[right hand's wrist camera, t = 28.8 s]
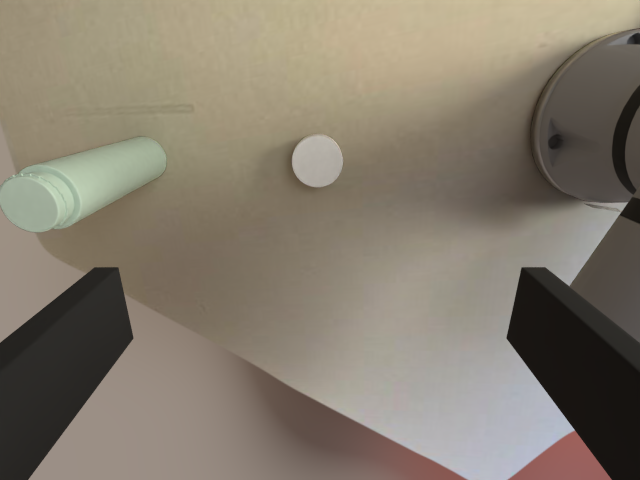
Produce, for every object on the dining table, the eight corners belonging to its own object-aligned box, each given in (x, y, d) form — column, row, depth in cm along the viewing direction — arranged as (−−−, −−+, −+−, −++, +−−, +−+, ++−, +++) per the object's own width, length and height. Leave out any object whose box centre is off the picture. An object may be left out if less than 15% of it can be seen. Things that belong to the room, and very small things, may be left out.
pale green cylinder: (170, 144, 38) (68, 183, 22) (162, 184, 39) (62, 247, 24) (126, 130, 37) (-9, 160, 22) (120, 171, 39) (-10, 226, 23)
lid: (291, 180, 39) (290, 185, 37) (294, 131, 37) (293, 133, 35) (339, 184, 39) (340, 189, 37) (344, 135, 37) (345, 138, 36)
